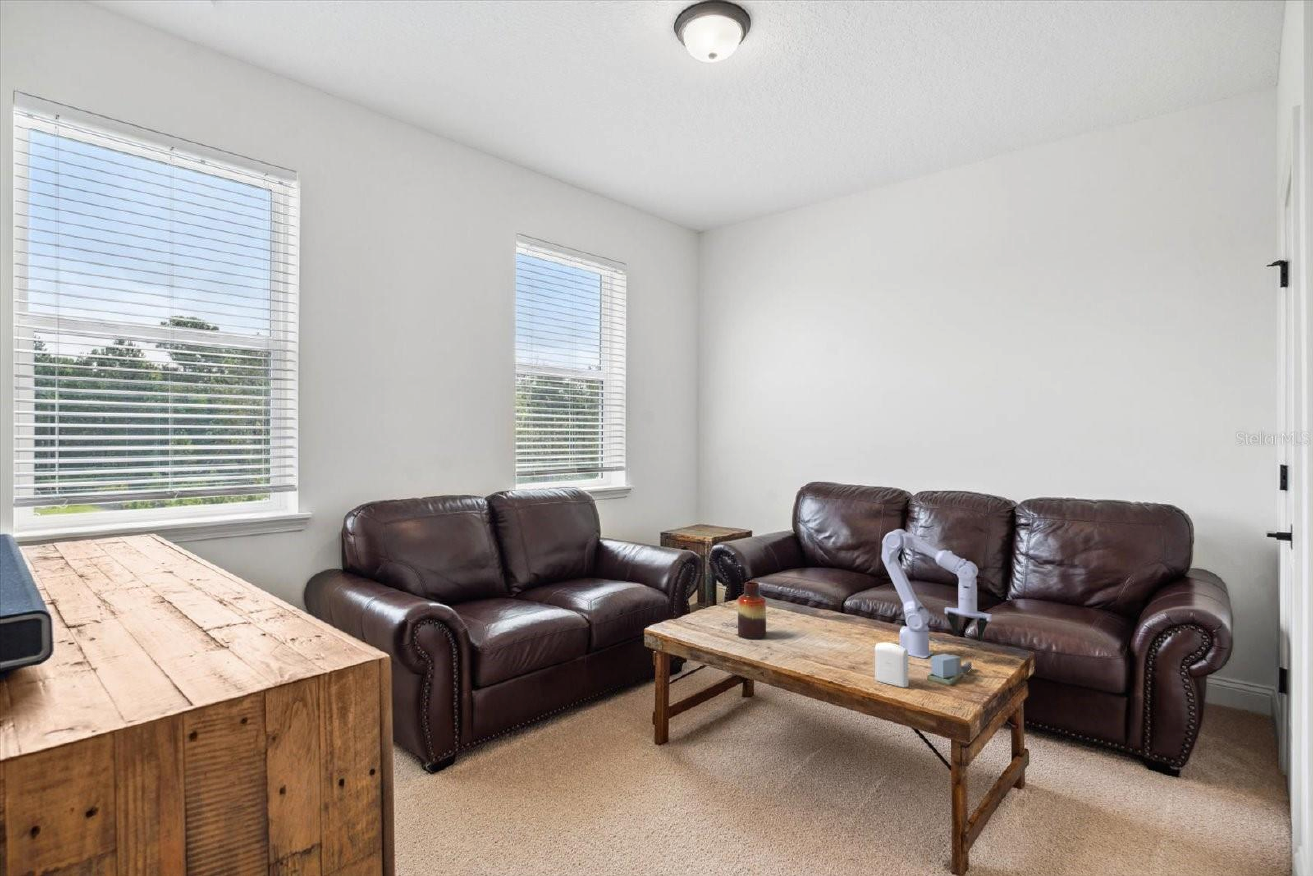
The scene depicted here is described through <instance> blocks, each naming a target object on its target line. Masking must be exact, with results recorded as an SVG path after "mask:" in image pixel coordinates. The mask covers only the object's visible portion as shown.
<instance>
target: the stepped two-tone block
mask: <svg viewBox="0 0 1313 876" xmlns="http://www.w3.org/2000/svg"><path fill="white" fill-rule="evenodd" d="M930 656H931V655H930ZM930 658H931V659H930V660H931V662H930V663H931V667H930V668H931V670H930V671H931V672H930V673H931V674H934V675H936V676H939V677H941V678H947V677H951V676H955V675H956V674H958V673H961V665H962V659H961V658H962V657H961V656H959V655H955V654H950V655H949V654H947V653H941V654H936V655H933V656H931V657H930Z"/></svg>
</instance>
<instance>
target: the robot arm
mask: <svg viewBox="0 0 1313 876" xmlns="http://www.w3.org/2000/svg"><path fill="white" fill-rule="evenodd" d="M881 544H882V548H881V560H882V562H883V565H884V566H885V569H886V570H887V572H888V575H889V577H890V579H891V581H892V583H893V585H894V587H895V590H896V592H897V594H898V596H899V598H900V601H901V602H902V605H903V613H904V616H905V624H906V626H905V625H902V626H901V628H900V631H899V634H898V635H899V639H898V640H899V644H898V645H899V646H902V647H904V648H905V649H907V651H908V656H911V657H917V658H919V659H920V658H921V659H927V658H929V657H930V656H931V655H933V654H934V651H930V628H929V626H928V623H929V622H930V620H931V614H930V612H929V611H928V609H926V608H925V607H924V606H923V604H922V602H921V601H920V600H919V599H918V597H917V595H916V593H915V592H914V589H913V587H912V584H911V583H910V581H909V579H908V576H907V575H906V572H905V570H904V568H903V566H902V564H901V561H900V560H899V556H900V554H901V551H902V550H903V549H914V550H917V551H918V552H920V553H922V554H924V555H927V556H928V557H931V558H932V559H934V560H935V562H936V564H937V566H940V568H943V569H945V570H946V571H949V572H951V573H952V574H955V575H956V576H957V578H958V586H957V587H958V588H957V589H958V593H957V594H958V595H957V596H958V600H957V601H958V606H957V607H951V606H949V607H948V606H946V607H944V614H945V615H947V616H946V618H947V620H948V623H949V625H950V626H951V629H952V634H953V637H956V638H957V637H958V636H959V619H960V618H959V616H960V617H965V618H966V617H967V618H971V619H977V621H976V627H977V642H981V641H982V640H983V636H984V635H983V634H984V631H985V629H986V627H987V625H988V624H989V622H991V621H992V614H991V613H990V614H989V613H985V612H983V611H978V585H977V583H978V581H977V575H978V574H979V569H978V566H977V565H976V564H975V563H973V561H971V560H968V561H967V559H966V558H961V557H959V556H957V555H955V554H954V553H953V551H951V549H950V550H946V549H943V550H939V549H938V548H936V547H934V546H932V545H931V544H929V543H927V542H926V541H924V540H922V539H921V538H919V537H918V536H915V535H914V534H913V533H911V532H908V531H905V530H904V529H903V528H897V529H894V530H893V531H890V532H888V533H886V534H885V536H884V537H883V539H882V541H881Z"/></svg>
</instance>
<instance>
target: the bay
mask: <svg viewBox="0 0 1313 876" xmlns="http://www.w3.org/2000/svg"><path fill="white" fill-rule="evenodd" d="M970 669H971V670H972V661H969V660H968V661H967V662H965V664H963V665H962V664H961V671H962V673H963V674H966V673H967V674H968V673H969V672H970V671H971V670H970ZM969 670H970V671H969ZM968 671H969V672H968ZM963 674H962V675H963ZM967 674H966V675H967Z"/></svg>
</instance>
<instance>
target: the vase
mask: <svg viewBox="0 0 1313 876" xmlns="http://www.w3.org/2000/svg"><path fill="white" fill-rule="evenodd" d="M760 592H761V591H760V584H759V582H757V581H746V582H745V583H744V593H743V594H742V595H740V596H738V597H737V636H738V637H739V636H740V637H739V638H741V637H742V638H741V639H744V640H749V639H750V641H755V640H757V641H758V640H762V638H763V639H765V638H766V637H767V599H766V597H765V596H764V595H761V593H760ZM765 636H766V637H765ZM764 637H765V638H764Z"/></svg>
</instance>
